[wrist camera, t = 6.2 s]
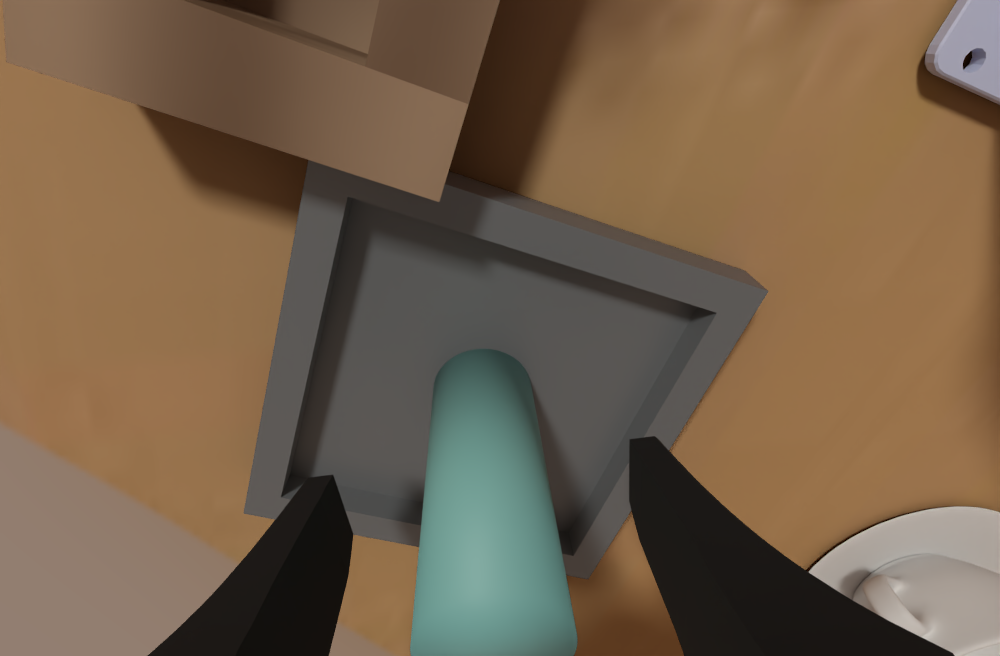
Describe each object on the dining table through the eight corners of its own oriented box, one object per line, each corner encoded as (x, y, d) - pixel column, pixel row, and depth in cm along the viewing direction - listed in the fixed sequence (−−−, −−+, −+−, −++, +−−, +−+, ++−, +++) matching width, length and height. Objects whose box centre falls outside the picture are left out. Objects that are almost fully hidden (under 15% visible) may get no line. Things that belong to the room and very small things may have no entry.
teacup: (1062, 564, 24) (1188, 677, 19) (862, 675, 27) (933, 792, 23) (947, 456, 20) (1070, 566, 16) (735, 599, 24) (791, 720, 19)
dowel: (523, 340, 16) (568, 582, 9) (536, 421, 18) (584, 682, 11) (423, 357, 16) (391, 610, 9) (444, 436, 18) (431, 705, 11)
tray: (745, 270, 16) (768, 291, 15) (581, 547, 21) (588, 579, 20) (326, 130, 13) (312, 139, 12) (258, 481, 19) (243, 513, 17)
